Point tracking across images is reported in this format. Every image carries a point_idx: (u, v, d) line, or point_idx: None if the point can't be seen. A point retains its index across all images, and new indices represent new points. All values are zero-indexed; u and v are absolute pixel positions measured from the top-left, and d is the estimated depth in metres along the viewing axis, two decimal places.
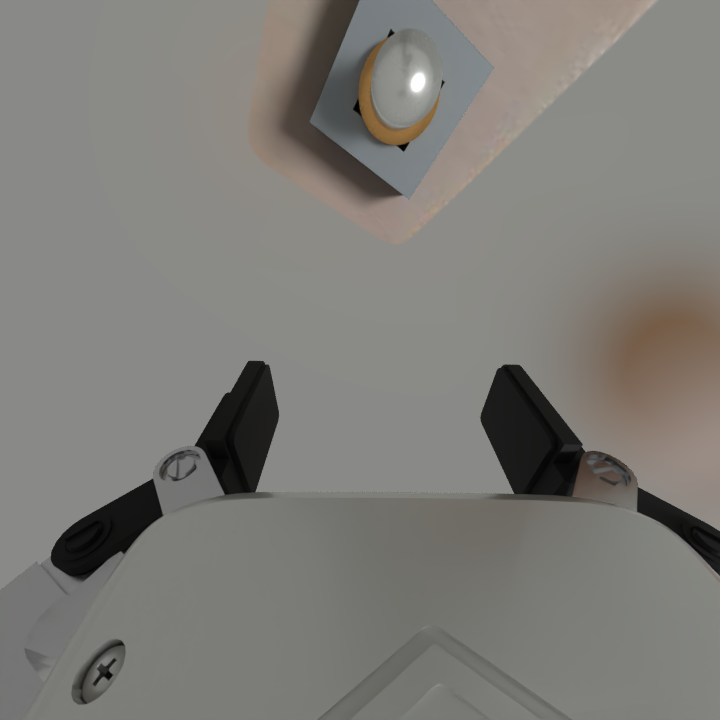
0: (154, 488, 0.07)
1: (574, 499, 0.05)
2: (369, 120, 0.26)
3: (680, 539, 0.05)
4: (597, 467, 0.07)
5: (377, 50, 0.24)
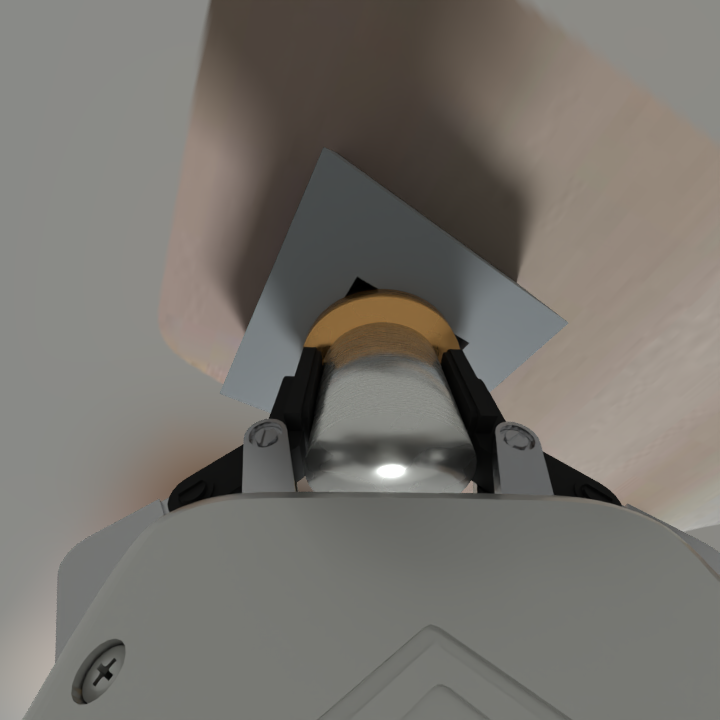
0: (242, 455, 0.08)
1: (574, 499, 0.05)
2: (336, 324, 0.11)
3: (680, 539, 0.05)
4: (509, 437, 0.08)
5: (445, 333, 0.12)
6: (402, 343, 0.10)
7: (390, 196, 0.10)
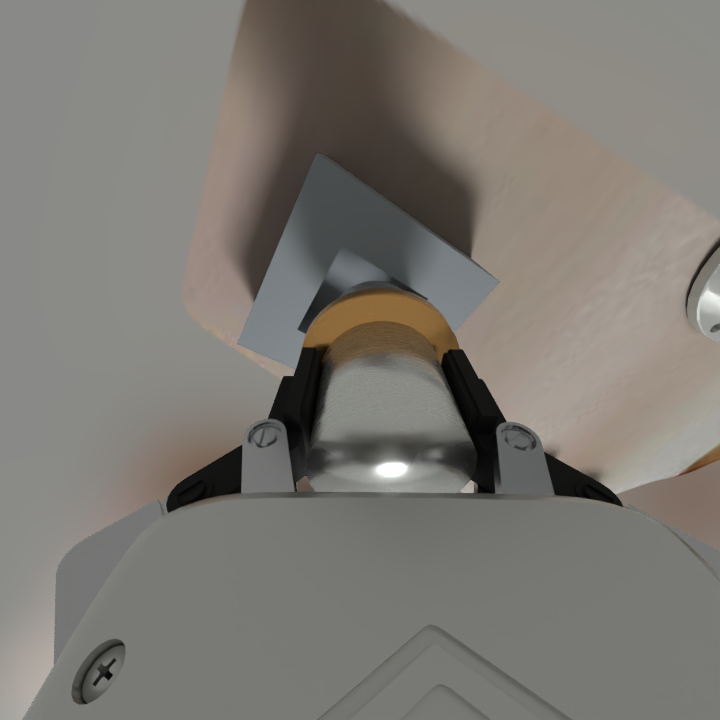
0: (241, 455, 0.08)
1: (574, 499, 0.05)
2: (334, 324, 0.11)
3: (680, 539, 0.05)
4: (510, 437, 0.08)
5: (444, 330, 0.12)
6: (401, 342, 0.10)
7: (363, 186, 0.14)
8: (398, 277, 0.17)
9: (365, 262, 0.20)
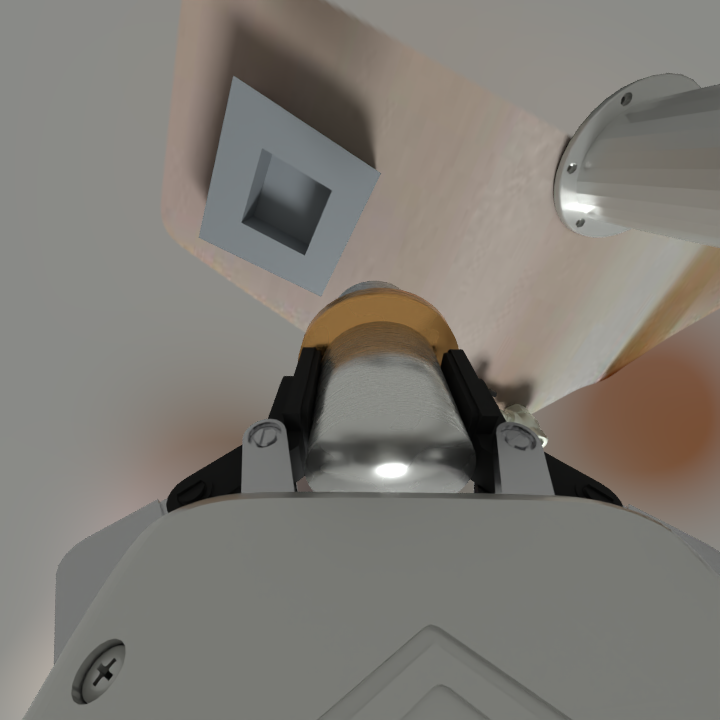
0: (241, 455, 0.08)
1: (574, 499, 0.05)
2: (333, 324, 0.11)
3: (680, 539, 0.05)
4: (510, 437, 0.08)
5: (443, 331, 0.12)
6: (400, 342, 0.10)
7: (269, 99, 0.21)
8: (306, 172, 0.23)
9: (293, 176, 0.27)
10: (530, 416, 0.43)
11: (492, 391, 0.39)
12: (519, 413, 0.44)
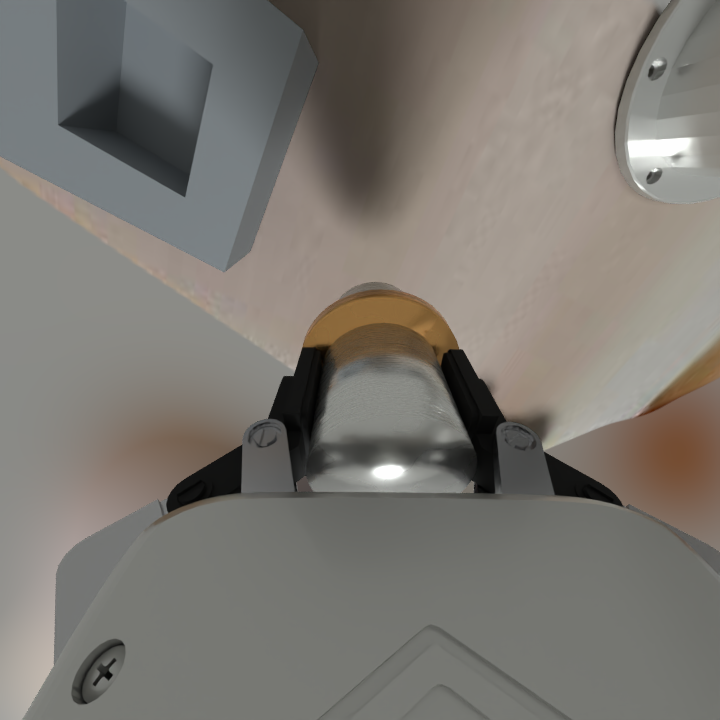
0: (241, 455, 0.08)
1: (574, 499, 0.05)
2: (334, 325, 0.11)
3: (680, 539, 0.05)
4: (510, 437, 0.08)
5: (444, 332, 0.12)
6: (401, 344, 0.10)
7: None
8: (158, 19, 0.12)
9: (171, 57, 0.15)
10: None
11: None
12: None
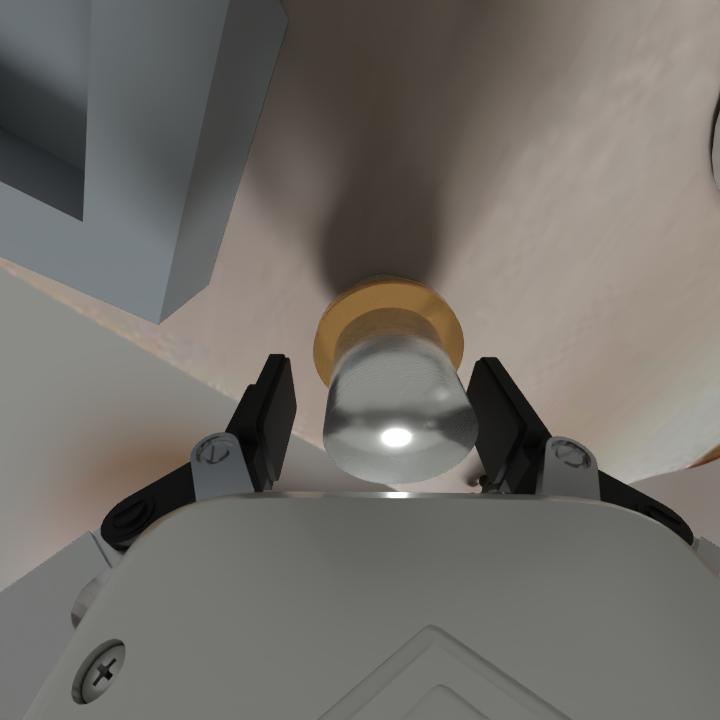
0: (190, 471, 0.08)
1: (574, 499, 0.05)
2: (347, 309, 0.12)
3: (680, 539, 0.05)
4: (561, 452, 0.08)
5: (449, 317, 0.13)
6: (409, 325, 0.11)
7: None
8: None
9: (58, 6, 0.10)
10: None
11: None
12: None
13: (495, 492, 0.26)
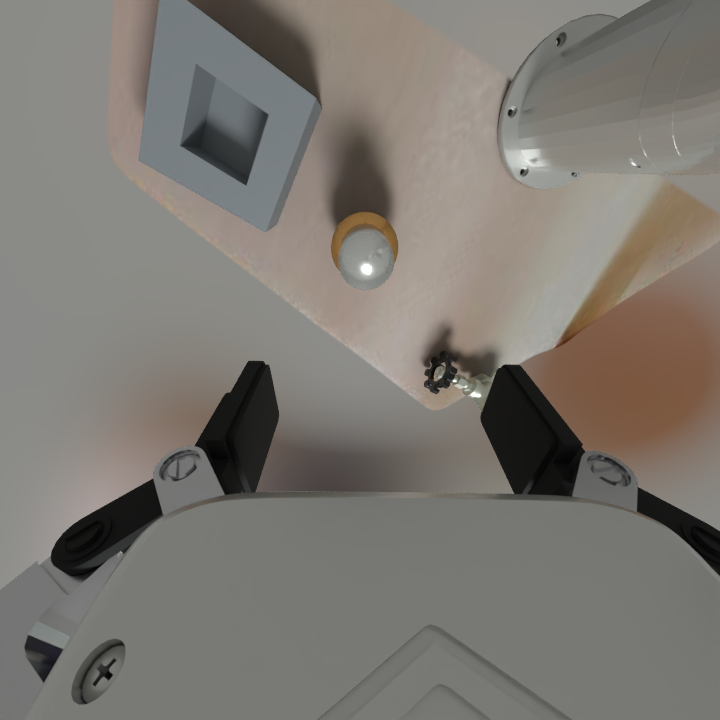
0: (154, 488, 0.07)
1: (574, 499, 0.05)
2: (346, 224, 0.29)
3: (680, 539, 0.05)
4: (597, 467, 0.07)
5: (389, 228, 0.29)
6: (371, 226, 0.28)
7: (199, 10, 0.21)
8: (242, 93, 0.23)
9: (237, 106, 0.27)
10: None
11: (452, 356, 0.40)
12: (483, 381, 0.45)
13: (439, 365, 0.43)
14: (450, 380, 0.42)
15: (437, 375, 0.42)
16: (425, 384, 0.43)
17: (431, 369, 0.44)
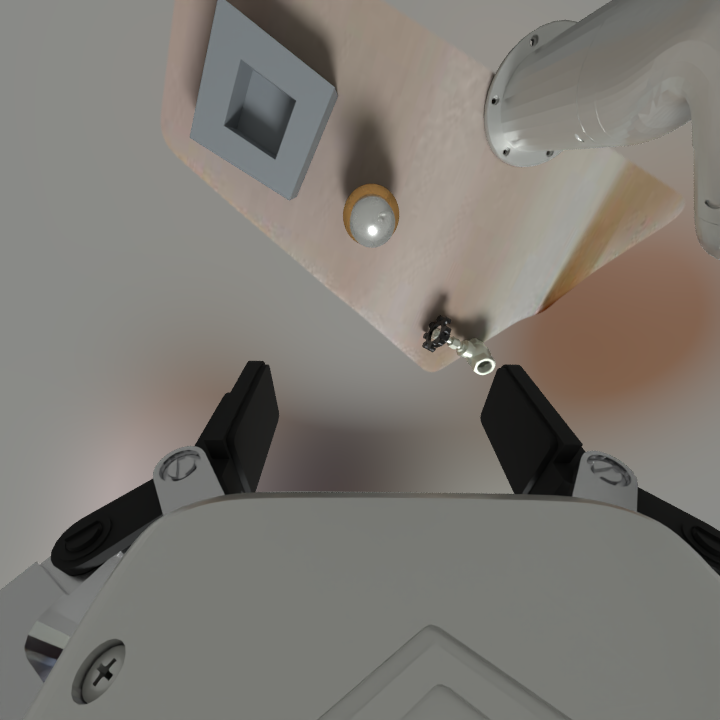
0: (154, 488, 0.07)
1: (574, 499, 0.05)
2: (356, 194, 0.35)
3: (680, 539, 0.05)
4: (597, 467, 0.07)
5: (392, 198, 0.35)
6: (376, 195, 0.34)
7: (246, 17, 0.27)
8: (276, 83, 0.29)
9: (269, 94, 0.33)
10: (483, 346, 0.50)
11: (447, 318, 0.46)
12: (474, 344, 0.51)
13: (436, 328, 0.50)
14: (445, 340, 0.48)
15: (434, 336, 0.48)
16: (423, 345, 0.49)
17: (429, 332, 0.50)
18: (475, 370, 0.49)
